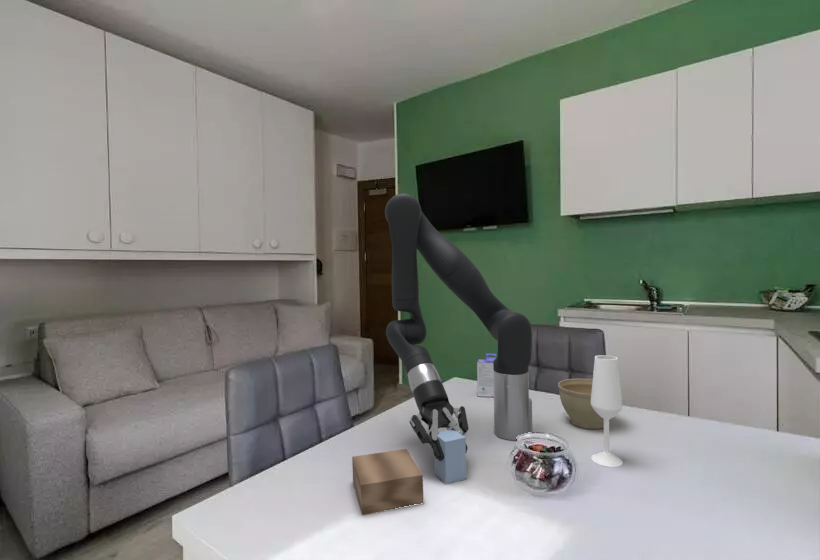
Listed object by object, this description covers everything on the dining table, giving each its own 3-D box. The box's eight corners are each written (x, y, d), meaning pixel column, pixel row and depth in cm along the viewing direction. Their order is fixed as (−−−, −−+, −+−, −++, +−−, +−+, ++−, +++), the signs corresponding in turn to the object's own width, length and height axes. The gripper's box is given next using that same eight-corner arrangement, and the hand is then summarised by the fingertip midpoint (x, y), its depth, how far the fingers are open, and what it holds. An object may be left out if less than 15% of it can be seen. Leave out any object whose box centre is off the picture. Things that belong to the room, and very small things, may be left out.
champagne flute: (626, 459, 96) (626, 356, 96) (617, 469, 92) (617, 362, 91) (596, 450, 101) (596, 353, 100) (586, 460, 96) (585, 358, 95)
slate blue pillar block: (454, 468, 94) (453, 429, 94) (466, 478, 89) (465, 437, 89) (434, 473, 92) (434, 433, 92) (446, 484, 87) (445, 441, 87)
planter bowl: (622, 419, 121) (622, 382, 121) (616, 439, 107) (616, 397, 107) (565, 409, 130) (564, 375, 129) (552, 427, 116) (552, 389, 116)
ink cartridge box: (506, 393, 147) (505, 352, 147) (506, 398, 142) (505, 356, 142) (477, 392, 149) (477, 352, 149) (477, 396, 144) (476, 355, 144)
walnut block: (407, 475, 92) (406, 448, 92) (423, 505, 80) (422, 474, 80) (352, 484, 89) (352, 456, 88) (362, 516, 77) (361, 485, 77)
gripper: (403, 383, 94) (429, 456, 84) (458, 374, 100) (488, 442, 90) (395, 399, 99) (418, 471, 89) (447, 390, 105) (474, 456, 95)
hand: (453, 456), depth 89 cm, fingers closed on slate blue pillar block, 5 cm apart
